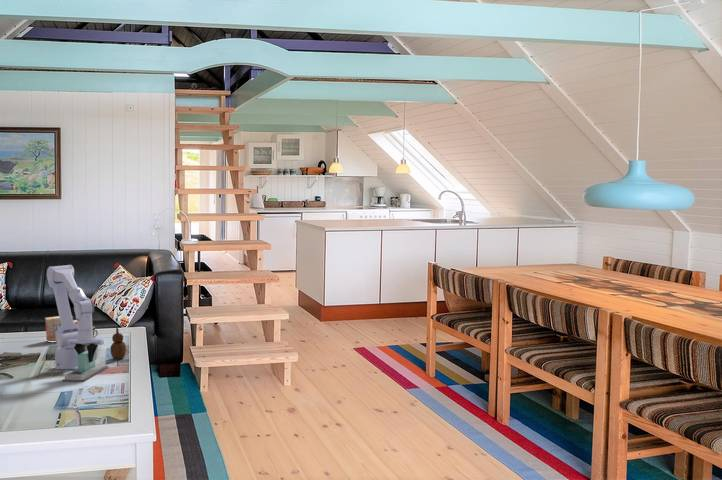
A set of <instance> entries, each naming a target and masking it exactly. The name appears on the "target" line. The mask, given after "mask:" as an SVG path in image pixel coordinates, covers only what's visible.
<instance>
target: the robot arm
mask: <svg viewBox="0 0 722 480" xmlns="http://www.w3.org/2000/svg"><path fill="white" fill-rule="evenodd" d="M46 279H47V283H48V285H49V288H51V289H53V293H54V297H55V303H56V307H57V313H58V316H59V317H60V322H61V326H60V327H59V328H58V329H57V331H56V344H57V346H58V347H57V348H56V349H55V353H54V358H55V359H54V360H55V361H54V362H55V363H54V364H55V367H54V369H55V370H75V369H77V368H78V361H77V355H79V354H81V353H83V352H85V351H87V350H88V355H89V362H92V361H93V357H94V353H95V354H96V350H97V348H98V346H102V345H104V344H105V341H104V340H105V339H102V338H94V339H93V328H92V326H93V313H94V312H95V304H94V302H93V299H91V298H89V297H87V295H86V294H85V292H84V289H82V288H81V287H78V285H77V282H76V280H75V268H74V266H73V265H72V264H67V265H57V266H56V265H54V266H52V265H51V266H48V268H47V269H46ZM67 290H68V293H67ZM69 299H70V301H71V303H72V304H73V311H74V314H75V320H77V324H75V323H73V320H74V318H73V319H72V316H73V315H72V311H71V306H70V302H69ZM63 332H64V333H63ZM85 345H89V346H87V350H85Z"/></svg>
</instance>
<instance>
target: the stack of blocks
mask: <svg viewBox="0 0 722 480" xmlns="http://www.w3.org/2000/svg"><path fill="white" fill-rule="evenodd" d="M44 319H45V320H44V321H45V335H46V341H47V340H48V341H56V331H57V329H58V328H59V327H60V326H61V322H60V317H59V315H58V316H49V317H44ZM72 319H73V323H75V324H77V319H75V320H74V316H73V315H72ZM63 333H64V332H63Z"/></svg>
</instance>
